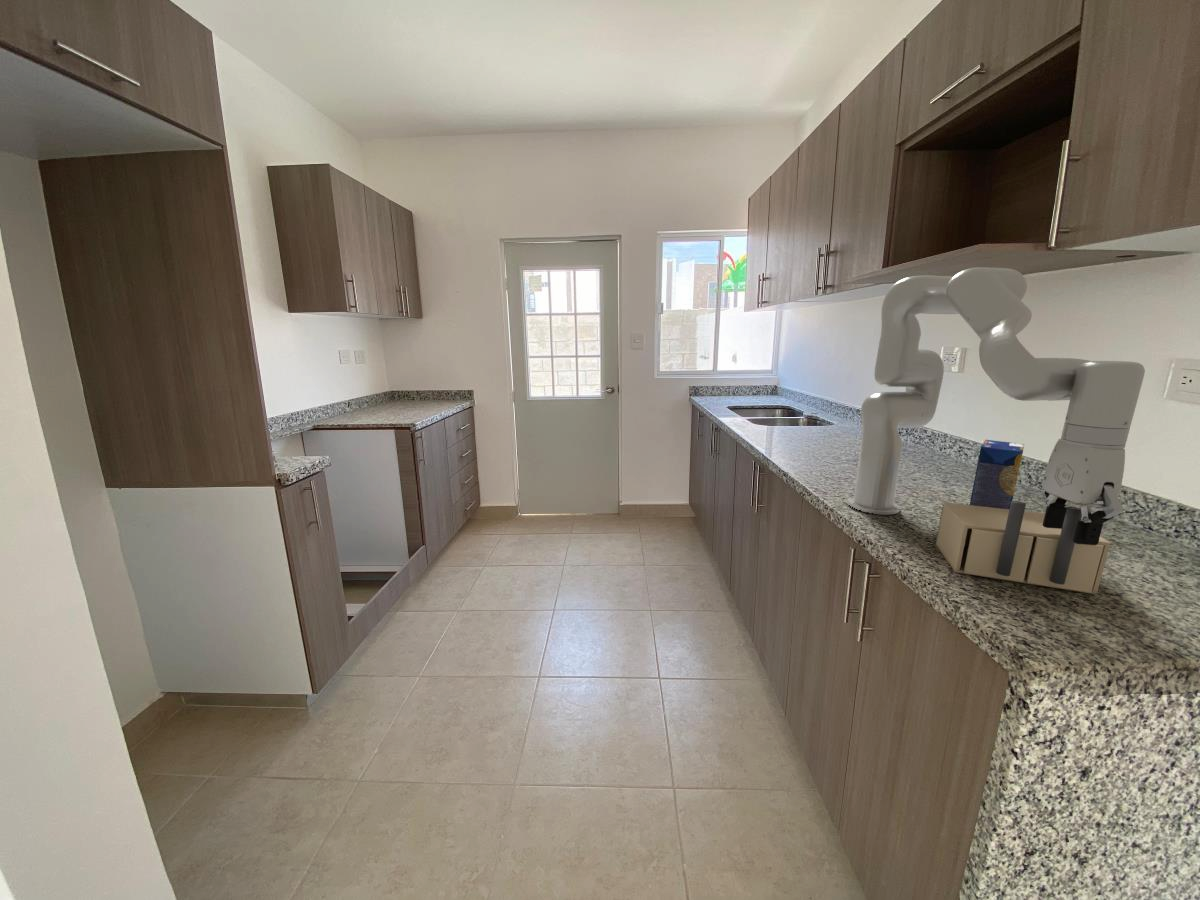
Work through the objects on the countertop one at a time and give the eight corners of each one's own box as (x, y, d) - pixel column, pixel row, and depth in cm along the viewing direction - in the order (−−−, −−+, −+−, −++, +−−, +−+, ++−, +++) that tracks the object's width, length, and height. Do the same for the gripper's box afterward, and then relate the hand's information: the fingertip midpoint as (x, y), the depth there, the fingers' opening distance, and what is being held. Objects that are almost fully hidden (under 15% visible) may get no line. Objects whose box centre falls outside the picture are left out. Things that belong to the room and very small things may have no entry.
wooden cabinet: (935, 544, 103) (943, 502, 101) (1056, 561, 95) (1067, 515, 93) (955, 572, 90) (964, 524, 88) (1096, 594, 83) (1110, 542, 80)
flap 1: (963, 571, 89) (978, 496, 86) (1022, 580, 86) (1040, 502, 83) (967, 577, 87) (983, 500, 84) (1028, 587, 84) (1046, 507, 80)
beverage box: (1004, 534, 108) (1024, 443, 103) (1001, 549, 101) (1022, 451, 96) (968, 526, 113) (985, 439, 108) (962, 540, 105) (980, 446, 100)
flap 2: (1026, 581, 86) (1044, 503, 82) (1089, 591, 83) (1111, 510, 79) (1032, 587, 84) (1051, 507, 80) (1097, 598, 80) (1120, 514, 77)
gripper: (1031, 426, 86) (1011, 516, 90) (1111, 445, 69) (1083, 555, 73) (1078, 427, 84) (1056, 519, 88) (1172, 448, 68) (1139, 559, 72)
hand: (1068, 534), depth 81 cm, fingers open, 6 cm apart
